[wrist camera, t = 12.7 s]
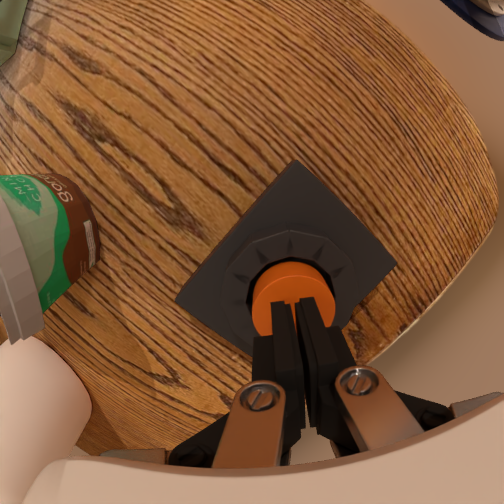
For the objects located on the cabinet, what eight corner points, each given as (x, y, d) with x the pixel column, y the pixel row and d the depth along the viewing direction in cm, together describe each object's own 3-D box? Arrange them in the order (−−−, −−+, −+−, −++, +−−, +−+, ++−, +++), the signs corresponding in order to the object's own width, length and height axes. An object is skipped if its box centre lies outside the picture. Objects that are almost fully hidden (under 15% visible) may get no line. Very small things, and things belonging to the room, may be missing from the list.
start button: (289, 245, 12) (293, 257, 11) (341, 292, 13) (351, 309, 11) (237, 299, 13) (234, 317, 11) (291, 339, 14) (294, 360, 12)
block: (291, 160, 14) (302, 157, 11) (382, 251, 16) (413, 275, 12) (183, 285, 17) (163, 317, 13) (276, 353, 18) (279, 394, 15)
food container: (134, 175, 15) (4, 198, 5) (117, 266, 17) (19, 351, 7) (16, 148, 14) (-80, 159, 5) (9, 219, 16) (-78, 256, 6)
